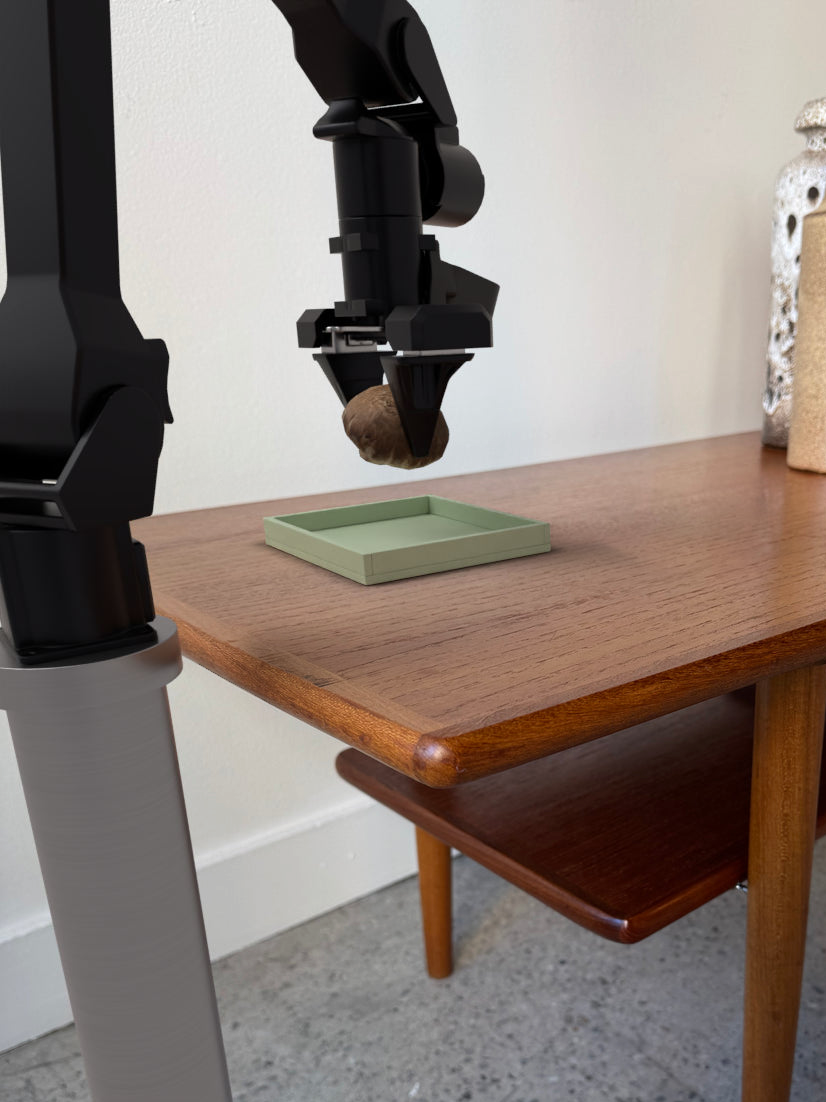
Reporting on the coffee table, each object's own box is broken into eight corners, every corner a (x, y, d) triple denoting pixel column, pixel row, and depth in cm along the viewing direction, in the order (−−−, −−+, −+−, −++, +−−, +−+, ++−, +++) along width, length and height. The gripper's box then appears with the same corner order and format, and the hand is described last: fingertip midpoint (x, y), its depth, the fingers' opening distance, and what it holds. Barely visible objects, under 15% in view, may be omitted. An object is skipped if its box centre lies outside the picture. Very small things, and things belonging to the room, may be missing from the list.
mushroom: (329, 417, 80) (357, 349, 76) (426, 452, 83) (458, 387, 79) (325, 481, 74) (354, 410, 70) (429, 515, 77) (463, 449, 73)
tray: (365, 585, 69) (363, 554, 68) (265, 544, 82) (262, 517, 81) (551, 551, 77) (550, 522, 76) (432, 518, 90) (431, 494, 89)
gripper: (556, 211, 68) (560, 453, 74) (415, 232, 83) (427, 433, 88) (407, 206, 62) (423, 470, 68) (283, 229, 77) (305, 446, 82)
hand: (396, 452), depth 77 cm, fingers closed on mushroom, 7 cm apart
